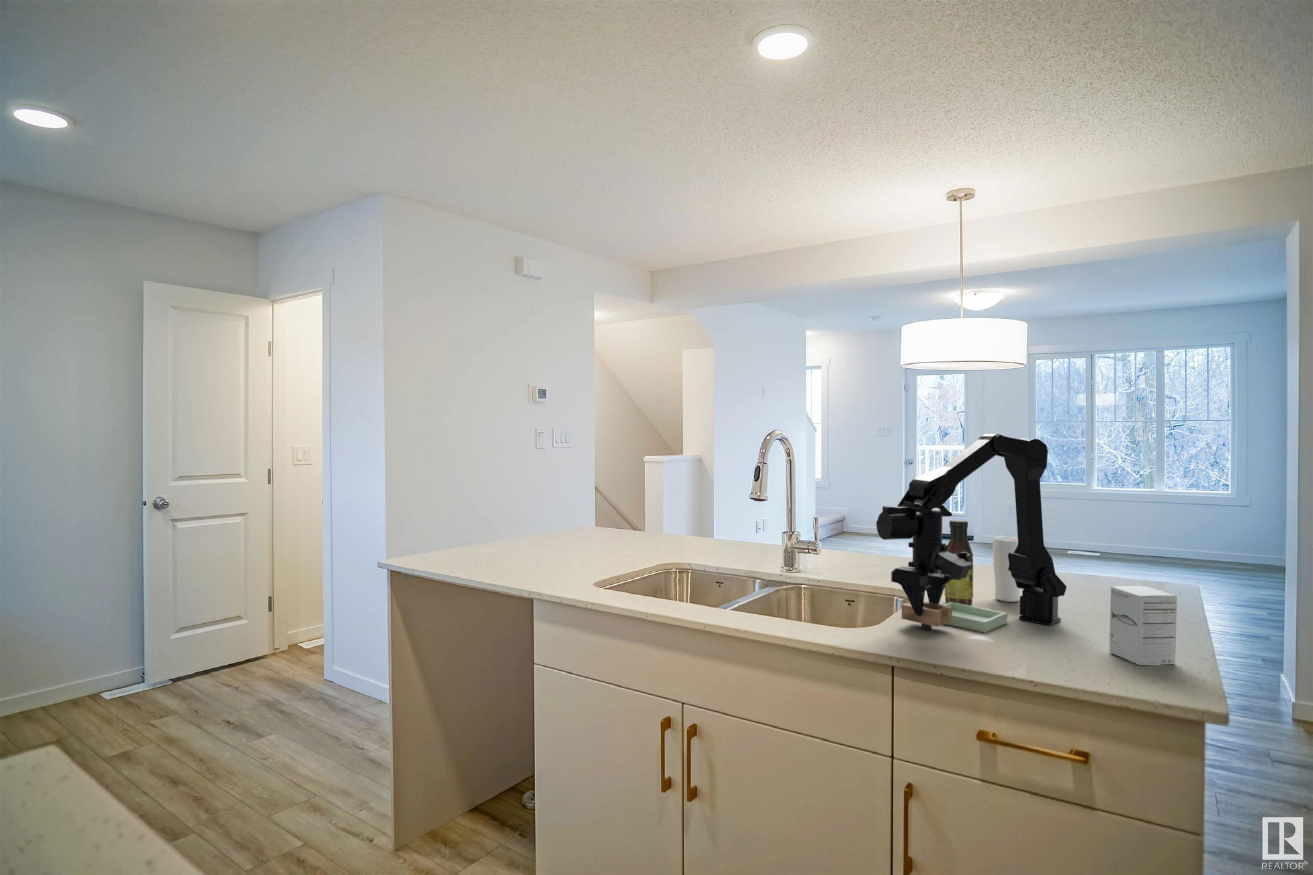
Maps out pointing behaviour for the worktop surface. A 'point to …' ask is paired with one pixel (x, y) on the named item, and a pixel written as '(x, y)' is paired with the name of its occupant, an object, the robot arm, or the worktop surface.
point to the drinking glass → (1004, 569)
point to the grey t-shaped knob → (925, 626)
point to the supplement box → (1143, 625)
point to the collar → (928, 614)
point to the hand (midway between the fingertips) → (926, 612)
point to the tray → (976, 617)
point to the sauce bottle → (958, 543)
